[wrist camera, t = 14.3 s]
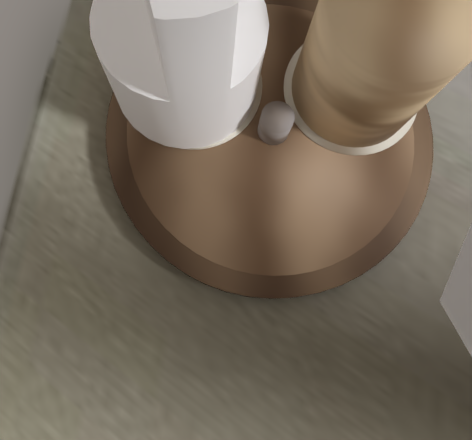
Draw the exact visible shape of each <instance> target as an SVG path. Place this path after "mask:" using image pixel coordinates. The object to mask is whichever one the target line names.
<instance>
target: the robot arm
mask: <svg viewBox="0 0 472 440" xmlns="http://www.w3.org/2000/svg"><path fill="white" fill-rule="evenodd" d="M440 303H441V305H442V306H443V308H444V310H445V312H446V313H447V315H448V317H449V319H450V320H451V322H452V324H453V325H454V327H455V329H456V331H457V332H458V334H459V336H460V338H461V339H462V341H463V343H464V345H465V346H466V348H467V350H468V352H469V353H470V355H471V357H472V223H471V225H470V228H469V230H468V232H467V235H466V237H465V240H464V242H463V245H462V247H461V250H460V252H459V254H458V257H457V259H456V262H455V264H454V267H453V269H452V271H451V274H450V276H449V279H448V281H447V284H446V286H445V289H444V291H443V293H442V296H441V298H440Z"/></svg>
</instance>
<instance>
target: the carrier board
mask: <svg viewBox="0 0 472 440" xmlns="http://www.w3.org/2000/svg"><path fill="white" fill-rule="evenodd" d="M264 1H265V3H266V7H267V13H268V19H269V31H268V38H267V45H266V50H265V54H264V59H263V64H262V68H261V73H260V77H259V82H258V87H257V91H256V96H255V101H254V103H253V106H252V108H251V110H250V112H249V115H248V117H247V118H246V119H245V121H244V122H243V123H242V124H241V125H240V127H239V128H238V129H237V130H236V131H235V132H233V133H232V134H230V135H229V136H228V137H226V138H225V139H223V140H222V141H219V142H217V143H214V144H211V145H208V146H206V147H201V148H190V149H181V148H174V147H168V146H164V145H162V144H159V143H157V142H155V141H152V140H150V139H148V138H147V137H145V136H144V135H143V134H141V133H140V132H139V131H137V130H136V129H135V128H134V127H133V126H132V125H131V123H130V122H129V121H128V119H127V118H126V117H125V115H124V114H123V112H122V110H121V108H120V105H119V103H118V101H117V99H116V96H115V94H114V92H113V94H112V98H111V101H110V104H109V110H108V117H107V123H106V150H107V157H108V165H109V169H110V173H111V177H112V180H113V184H114V187H115V190H116V192H117V194H118V196H119V199H120V201H121V203H122V206H123V208H124V209H125V211H126V213H127V214H128V216H129V217H130V219H131V221H132V222H133V224H134V226H135V227H136V228H137V229H138V231H139V232H140V233H141V234H142V235H143V237H144V238H145V239H146V240H147V242H148V243H149V244H150V245H151V246H152V247H153V248H154V249H155V250H156V251H157V252H158V253H159V254H161V255H162V256H163V257H164V258H165V259H166V260H167V261H168V262H170V263H171V264H172V265H174V266H175V267H177V268H178V269H180V270H181V271H182V272H184V273H185V274H187V275H189V276H191V277H193V278H194V279H196V280H198V281H200V282H202V283H204V284H206V285H209V286H212V287H214V288H217V289H220V290H223V291H225V292H229V293H234V294H238V295H243V296H247V297H257V298H269V299H273V298H293V297H299V296H304V295H310V294H315V293H320V292H323V291H326V290H329V289H332V288H335V287H338V286H341V285H343V284H345V283H347V282H349V281H351V280H353V279H355V278H357V277H359V276H361V275H362V274H363V273H365V272H366V271H368V270H369V269H371V268H372V267H374V266H375V265H377V264H378V263H379V262H380V261H381V260H382V259H384V258H385V257H386V256H387V255H388V254H389V253H390V252H391V251H392V250H393V249H394V248H395V247H396V246H397V245H398V243H399V242H400V241H401V240H402V238H403V237H404V236H405V235H406V234H407V232H408V230H409V229H410V227H411V226H412V224H413V222H414V221H415V219H416V217H417V216H418V213H419V211H420V209H421V206H422V204H423V202H424V199H425V197H426V193H427V190H428V186H429V182H430V178H431V171H432V163H433V135H432V128H431V122H430V116H429V113H428V110H427V106H426V105H425V106H424V107H423V108H422V109H421V110H420V111H418V112H417V113H416V114H415V115H414V116H413V117H412V118H411V119H410V120H409V121H408V122H407V123H406V124H405V125H404V126H403V127H402V128H401V129H400V130H398V131H397V132H396V133H395V134H394V135H393V136H392V137H390V138H389V139H387V140H385V141H383V142H381V143H379V144H376V145H373V146H368V147H357V148H354V147H345V146H341V145H337V144H334V143H332V142H329V141H327V140H325V139H323V138H322V137H320V136H319V135H317V134H316V133H315V132H314V131H312V130H311V129H310V128H309V127H308V126H307V125H306V124H305V122H304V121H303V120H302V118H301V117H300V115H299V113H298V111H297V109H296V107H295V104H294V101H293V97H292V88H291V87H292V77H293V73H294V70H295V67H296V64H297V61H298V58H299V55H300V53H301V50H302V47H303V44H304V41H305V38H306V35H307V32H308V30H309V27H310V24H311V21H312V18H313V15H314V12H315V10H316V7H317V4H318V1H319V0H264Z"/></svg>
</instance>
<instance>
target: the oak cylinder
mask: <svg viewBox="0 0 472 440" xmlns="http://www.w3.org/2000/svg"><path fill="white" fill-rule="evenodd" d="M471 61H472V0H319V1H318V4H317V7H316V10H315V12H314V15H313V18H312V21H311V24H310V27H309V30H308V32H307V35H306V38H305V41H304V44H303V47H302V50H301V53H300V55H299V58H298V61H297V64H296V67H295V70H294V73H293V77H292V87H291V88H292V97H293V101H294V104H295V107H296V109H297V111H298V113H299V115H300V117H301V118H302V120H303V121H304V122H305V124H306V125H307V126H308V127H309V128H310V129H311V130H312V131H314V132H315V133H316V134H317V135H319V136H320V137H322V138H323V139H325V140H327V141H329V142H332V143H334V144H337V145H341V146H345V147H354V148H357V147H368V146H373V145H376V144H379V143H381V142H383V141H385V140H387V139H389V138H390V137H392V136H393V135H394V134H395V133H396V132H397V131H398V130H400V129H401V128H402V127H403V126H404V125H405V124H406V123H407V122H408V121H409V120H410V119H411V118H412V117H413V116H414V115H415V114H416V113H417V112H418V111H420V110H421V109H422V108H423V107H424V106H425V105H426V104H427V103H428V102H429V101H430V100H431V99H432V98H433V97H434V96H435V95H436V94H437V93H438V92H439V91H441V90H442V89H443V88H444V87H445V86H446V85H447V84H448V83H449V82H450V81H451V80H452V79H453V78H454V77H455V76H456V75H457V74H458V73H459V72H461V71H462V70H463V69H464V68H465V67H466V66H467V65H468V64H469V63H470V62H471Z"/></svg>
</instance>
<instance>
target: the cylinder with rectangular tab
mask: <svg viewBox="0 0 472 440" xmlns="http://www.w3.org/2000/svg"><path fill="white" fill-rule="evenodd" d="M89 21H90V36H91V40H92V42H93V45H94V48H95V50H96V53H97V56H98V58H99V60H100V63H101V65H102V67H103V69H104V72H105V74H106V76H107V78H108V81H109V83H110V85H111V87H112V90H113V92H114V94H115V96H116V99H117V101H118V103H119V105H120V108H121V110H122V112H123V114H124V115H125V117H126V118H127V119H128V121H129V122H130V123H131V125H132V126H133V127H134V128H135V129H136V130H137V131H139V132H140V133H141V134H143V135H144V136H145V137H147V138H148V139H150V140H152V141H155V142H157V143H159V144H162V145H164V146H168V147H174V148H181V149H190V148H201V147H206V146H208V145H211V144H214V143H217V142H219V141H222V140H223V139H225V138H226V137H228V136H229V135H230V134H232V133H233V132H235V131H236V130H237V129H238V128H239V127H240V125H241V124H242V123H243V122H244V121H245V119H246V118H247V117H248V115H249V112H250V110H251V108H252V106H253V103H254V101H255V96H256V91H257V87H258V82H259V77H260V73H261V68H262V64H263V59H264V54H265V50H266V45H267V38H268V31H269V19H268V13H267V7H266V3H265V1H264V0H93V3H92V7H91V11H90V15H89Z"/></svg>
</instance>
